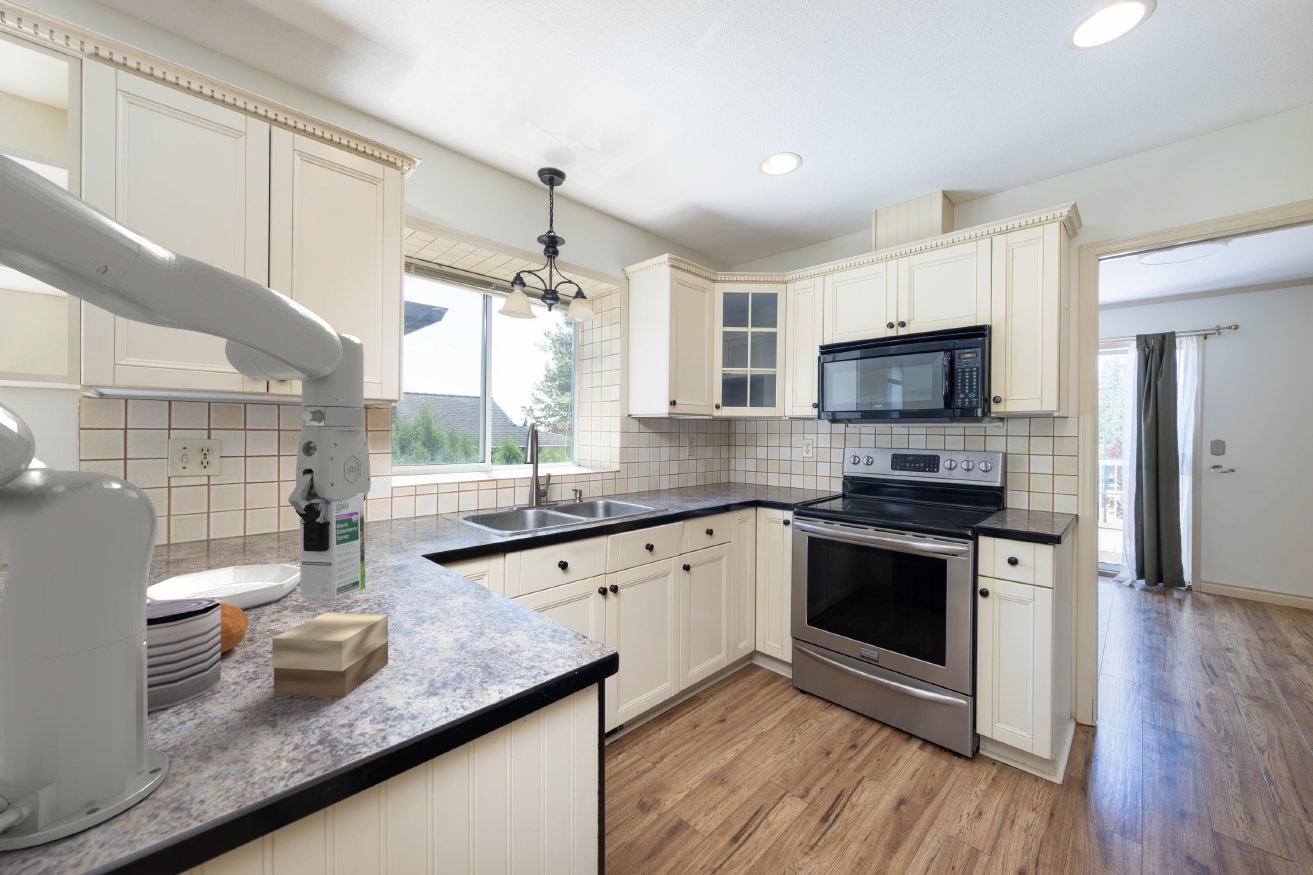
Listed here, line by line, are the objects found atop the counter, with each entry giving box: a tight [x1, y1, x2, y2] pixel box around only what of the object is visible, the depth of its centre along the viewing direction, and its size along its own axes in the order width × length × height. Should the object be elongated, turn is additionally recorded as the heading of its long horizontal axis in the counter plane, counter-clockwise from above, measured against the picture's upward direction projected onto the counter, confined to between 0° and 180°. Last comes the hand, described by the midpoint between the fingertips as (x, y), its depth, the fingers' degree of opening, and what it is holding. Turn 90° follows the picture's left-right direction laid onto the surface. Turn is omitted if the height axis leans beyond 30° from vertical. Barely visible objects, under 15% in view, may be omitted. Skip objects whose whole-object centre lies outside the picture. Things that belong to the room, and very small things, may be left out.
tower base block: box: [273, 640, 389, 698], centre depth 74 cm, size 10×10×4 cm
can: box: [147, 598, 224, 713], centre depth 70 cm, size 11×11×12 cm
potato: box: [219, 603, 249, 655], centre depth 82 cm, size 9×11×8 cm
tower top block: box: [272, 611, 389, 671], centre depth 74 cm, size 10×10×4 cm
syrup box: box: [299, 493, 366, 602], centre depth 74 cm, size 6×6×14 cm
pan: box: [147, 563, 301, 611], centre depth 109 cm, size 31×26×4 cm
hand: (333, 544), depth 74 cm, fingers closed on syrup box, 6 cm apart
